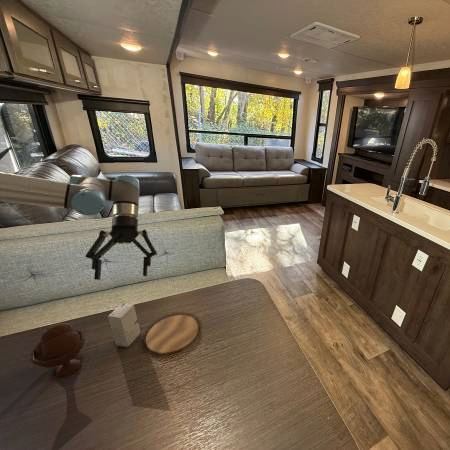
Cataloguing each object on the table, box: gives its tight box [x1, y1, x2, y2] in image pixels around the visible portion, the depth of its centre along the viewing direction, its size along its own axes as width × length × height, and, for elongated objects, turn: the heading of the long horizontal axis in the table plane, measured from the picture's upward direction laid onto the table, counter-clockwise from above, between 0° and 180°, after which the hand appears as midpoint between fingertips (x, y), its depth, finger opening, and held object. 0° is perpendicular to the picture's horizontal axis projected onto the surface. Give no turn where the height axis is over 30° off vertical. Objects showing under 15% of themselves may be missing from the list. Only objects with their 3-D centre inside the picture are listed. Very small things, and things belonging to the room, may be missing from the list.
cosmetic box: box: [107, 303, 141, 348], centre depth 79 cm, size 6×4×12 cm
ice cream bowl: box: [30, 322, 86, 379], centre depth 68 cm, size 11×11×15 cm
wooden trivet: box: [145, 314, 199, 355], centre depth 85 cm, size 16×16×1 cm
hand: (121, 277), depth 84 cm, fingers open, 13 cm apart
